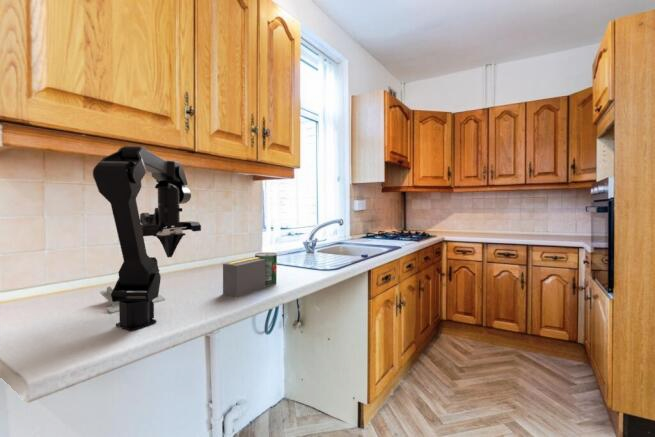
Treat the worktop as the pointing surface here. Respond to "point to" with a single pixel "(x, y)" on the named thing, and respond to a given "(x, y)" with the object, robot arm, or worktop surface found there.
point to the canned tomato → (269, 267)
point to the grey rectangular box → (243, 276)
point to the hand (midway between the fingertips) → (169, 257)
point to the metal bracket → (116, 304)
